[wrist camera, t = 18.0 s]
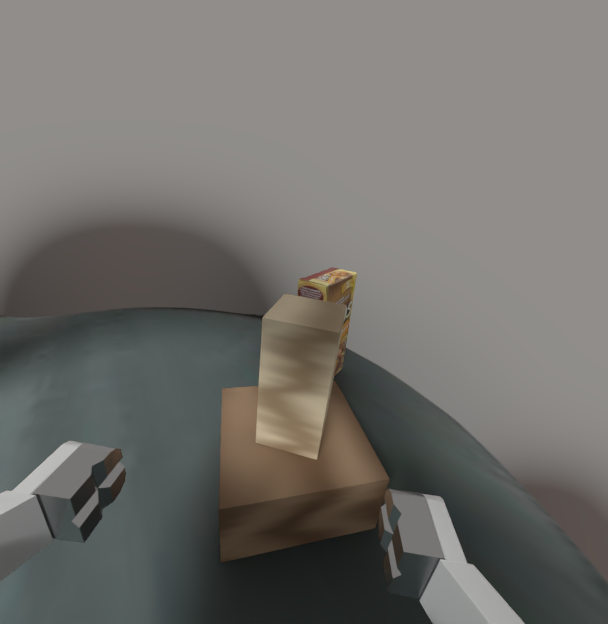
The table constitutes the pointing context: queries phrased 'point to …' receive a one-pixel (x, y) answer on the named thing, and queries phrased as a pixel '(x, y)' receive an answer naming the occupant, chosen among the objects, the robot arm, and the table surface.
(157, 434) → the table surface
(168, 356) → the table surface
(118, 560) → the table surface
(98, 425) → the table surface
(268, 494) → the walnut block
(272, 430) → the maple block
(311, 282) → the candy box
